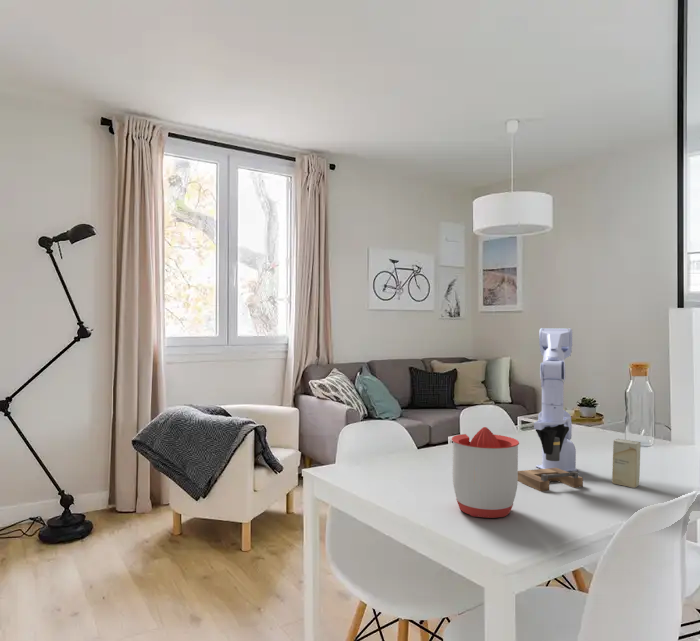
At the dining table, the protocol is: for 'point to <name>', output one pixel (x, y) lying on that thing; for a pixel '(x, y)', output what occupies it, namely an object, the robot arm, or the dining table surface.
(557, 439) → the grey cylinder with band
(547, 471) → the wooden bracket with rod
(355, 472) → the dining table surface
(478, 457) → the citrus juicer
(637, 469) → the skincare box
